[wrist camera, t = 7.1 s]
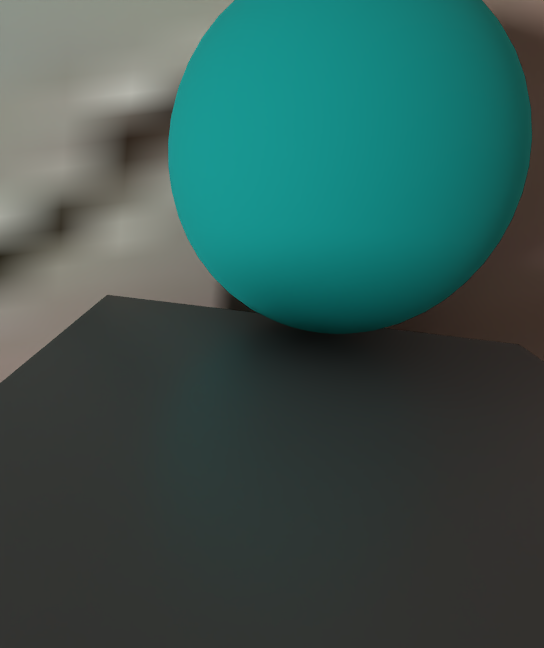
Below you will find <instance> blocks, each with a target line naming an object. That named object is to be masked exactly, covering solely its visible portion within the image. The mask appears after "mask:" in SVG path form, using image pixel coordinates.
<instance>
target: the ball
mask: <svg viewBox="0 0 544 648" xmlns="http://www.w3.org/2000/svg"><path fill="white" fill-rule="evenodd" d="M531 143H532V123H531V106H530V101H529V96H528V90H527V85H526V80H525V75H524V72H523V70H522V67H521V64H520V61H519V58H518V56H517V53H516V50H515V48H514V46H513V45H512V43H511V41H510V39H509V37H508V36H507V34H506V32H505V30H504V29H503V27H502V25H501V24H500V22H499V21H498V19H497V18H496V17H495V15H494V14H493V13H492V12H491V11H490V9H489V8H488V7H487V6H486V5H485V3H484V2H483V1H482V0H234V1H233V2H232V3H231V4H230V5H229V6H228V7H227V8H226V9H225V10H224V11H223V12H222V13H221V14H220V15H219V16H218V18H217V19H216V20H215V22H214V23H213V24H212V26H211V27H210V28H209V30H208V31H207V32H206V34H205V35H204V36H203V37H202V39H201V41H200V43H199V44H198V46H197V48H196V50H195V52H194V53H193V55H192V57H191V59H190V61H189V62H188V65H187V68H186V70H185V73H184V75H183V78H182V80H181V83H180V85H179V88H178V92H177V96H176V100H175V104H174V108H173V112H172V116H171V123H170V132H169V141H168V159H169V174H170V181H171V189H172V193H173V197H174V201H175V205H176V209H177V212H178V216H179V219H180V221H181V224H182V226H183V228H184V231H185V233H186V236H187V238H188V240H189V242H190V243H191V245H192V247H193V249H194V250H195V252H196V254H197V256H198V258H199V259H200V260H201V261H202V263H203V264H204V265H205V267H206V268H207V269H208V271H209V272H210V273H211V275H212V276H213V277H214V278H215V279H216V280H217V281H218V282H219V283H220V284H221V285H222V286H223V287H224V288H225V289H226V290H227V291H228V292H229V293H230V294H231V295H233V296H234V297H235V298H237V299H238V300H239V301H241V302H242V303H243V304H245V305H246V306H248V307H249V308H250V309H252V310H254V311H255V312H257V313H259V314H261V315H263V316H265V317H267V318H269V319H271V320H274V321H276V322H278V323H281V324H284V325H287V326H290V327H293V328H297V329H301V330H306V331H312V332H318V333H328V334H350V333H359V332H368V331H374V330H378V329H381V328H385V327H389V326H392V325H396V324H399V323H401V322H404V321H406V320H408V319H410V318H413V317H415V316H417V315H419V314H422V313H424V312H426V311H427V310H429V309H431V308H432V307H434V306H435V305H437V304H439V303H440V302H442V301H444V300H445V299H446V298H447V297H449V296H450V295H451V294H452V293H454V292H455V291H456V290H457V289H458V288H460V287H461V286H462V285H463V284H464V283H466V282H467V281H468V280H469V278H470V277H471V276H472V275H473V274H474V273H475V272H476V271H477V270H478V269H479V268H480V267H481V266H482V265H483V264H484V262H485V261H486V260H487V258H488V257H489V256H490V254H491V253H492V252H493V250H494V249H495V247H496V246H497V245H498V243H499V242H500V240H501V238H502V237H503V235H504V233H505V231H506V229H507V227H508V226H509V224H510V222H511V220H512V218H513V216H514V213H515V211H516V208H517V206H518V203H519V200H520V198H521V195H522V193H523V189H524V185H525V180H526V176H527V172H528V168H529V162H530V152H531Z"/></svg>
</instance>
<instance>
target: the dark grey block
mask: <svg viewBox="0 0 544 648" xmlns="http://www.w3.org/2000/svg"><path fill="white" fill-rule="evenodd" d="M0 648H544V362H543V361H542V360H541V359H539V358H538V357H536V356H535V355H533V354H532V353H530V352H529V351H528V350H526V349H525V348H523V347H522V346H520V345H519V344H511V343H502V342H494V341H486V340H477V339H469V338H461V337H452V336H444V335H436V334H428V333H419V332H411V331H403V330H394V329H386V328H381V329H378V330H374V331H368V332H359V333H350V334H328V333H318V332H312V331H306V330H301V329H297V328H293V327H290V326H287V325H284V324H281V323H278V322H276V321H274V320H271V319H269V318H267V317H265V316H263V315H261V314H259V313H253V312H245V311H237V310H228V309H220V308H212V307H203V306H195V305H187V304H179V303H170V302H162V301H154V300H145V299H137V298H129V297H120V296H112V295H106V296H105V297H104V298H103V299H102V300H100V301H99V302H98V303H97V304H96V305H94V306H93V307H92V308H91V309H90V310H88V311H87V312H86V313H85V314H83V315H82V316H81V317H80V318H79V319H77V320H76V321H75V322H74V323H73V324H71V325H70V326H69V327H68V328H67V329H65V330H64V331H63V332H62V333H60V334H59V335H58V336H57V337H56V338H54V339H53V340H52V341H51V342H50V343H48V344H47V345H46V346H45V347H44V348H42V349H41V350H40V351H39V352H37V353H36V354H35V355H34V356H33V357H31V358H30V359H29V360H28V361H27V362H25V363H24V364H23V365H22V366H21V367H19V368H18V369H17V370H16V371H14V372H13V373H12V374H11V375H10V376H8V377H7V378H6V379H5V380H4V381H2V382H1V383H0Z"/></svg>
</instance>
